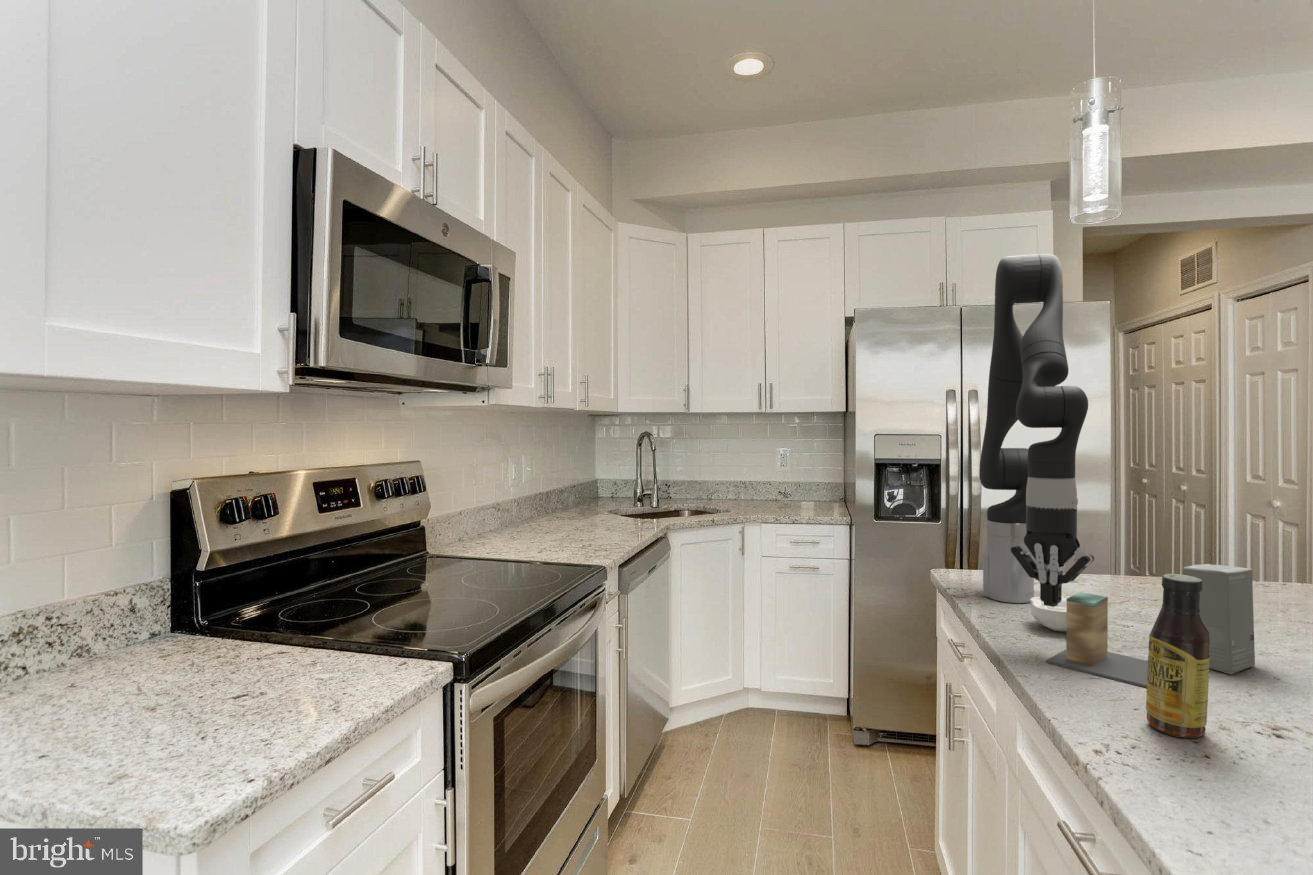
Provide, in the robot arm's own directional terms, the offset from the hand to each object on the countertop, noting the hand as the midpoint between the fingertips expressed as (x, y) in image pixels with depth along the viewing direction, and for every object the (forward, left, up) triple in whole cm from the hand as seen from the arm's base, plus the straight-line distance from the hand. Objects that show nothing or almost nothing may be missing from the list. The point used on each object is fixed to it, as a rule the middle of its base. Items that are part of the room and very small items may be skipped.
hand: (1051, 605), depth 117 cm
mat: (+10, 0, -8) cm, 12 cm away
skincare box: (+20, +14, -8) cm, 25 cm away
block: (+5, 0, -8) cm, 9 cm away
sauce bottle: (+23, -19, -8) cm, 31 cm away
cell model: (-5, +15, -8) cm, 18 cm away
